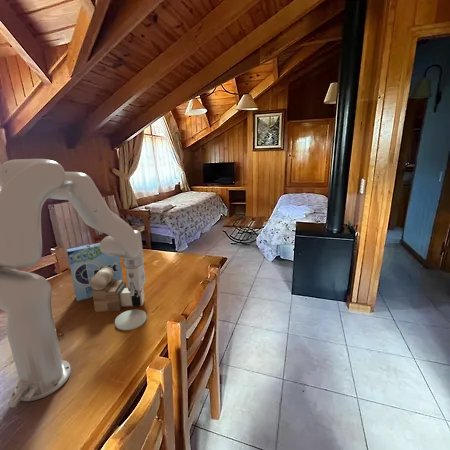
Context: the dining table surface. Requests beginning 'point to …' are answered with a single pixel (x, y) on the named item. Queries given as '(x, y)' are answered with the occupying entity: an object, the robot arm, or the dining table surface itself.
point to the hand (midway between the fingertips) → (138, 301)
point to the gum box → (89, 267)
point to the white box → (127, 299)
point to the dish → (130, 319)
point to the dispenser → (106, 290)
